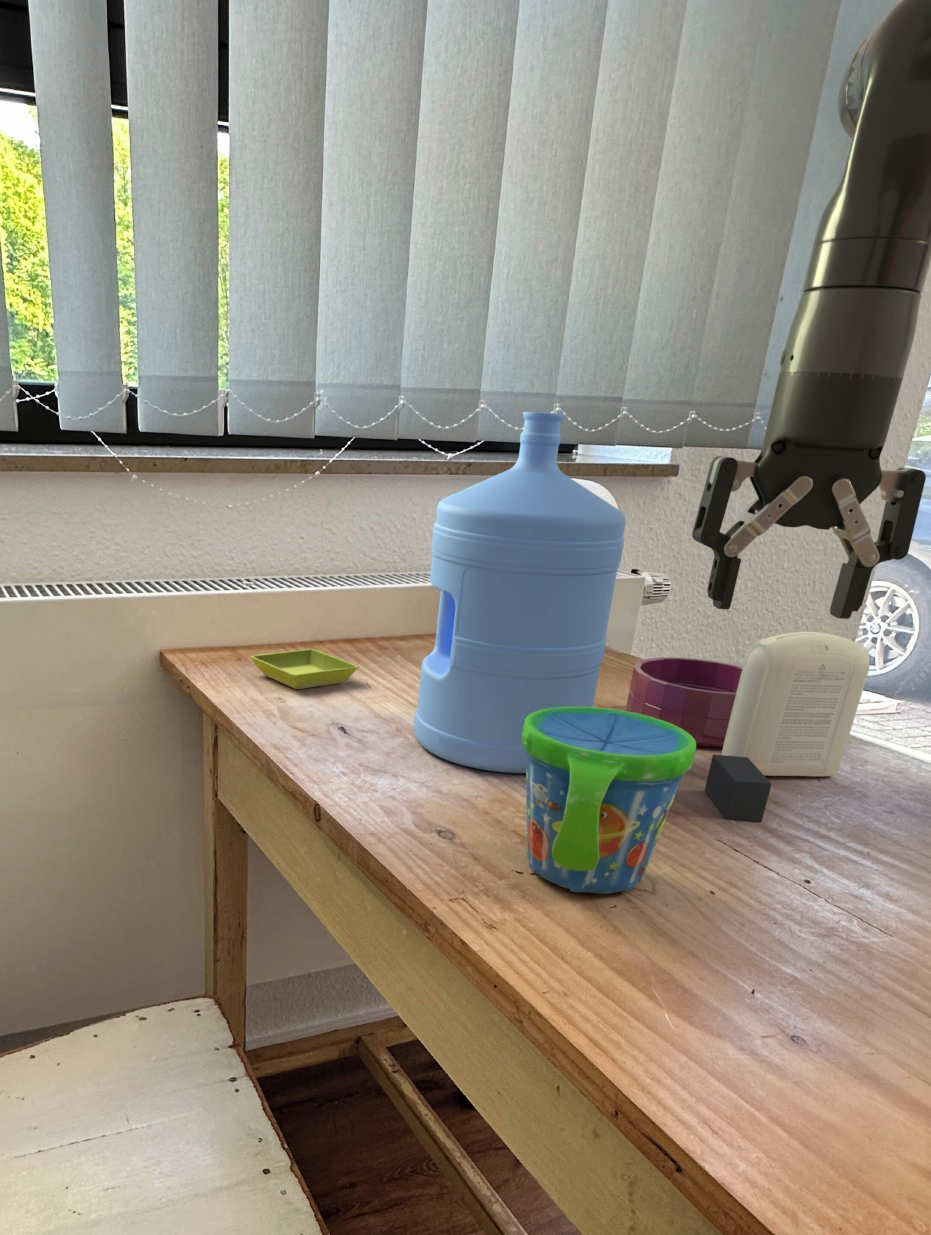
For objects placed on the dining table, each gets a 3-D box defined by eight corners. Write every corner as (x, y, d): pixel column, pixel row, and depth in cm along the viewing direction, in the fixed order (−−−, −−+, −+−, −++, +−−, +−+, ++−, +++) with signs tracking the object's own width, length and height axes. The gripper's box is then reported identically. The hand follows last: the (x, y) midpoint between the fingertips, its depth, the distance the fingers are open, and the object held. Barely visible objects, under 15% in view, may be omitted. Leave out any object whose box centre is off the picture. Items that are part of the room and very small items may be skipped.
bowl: (741, 714, 100) (753, 662, 98) (783, 756, 88) (798, 699, 86) (614, 704, 101) (623, 653, 99) (638, 744, 89) (650, 687, 87)
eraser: (704, 790, 79) (712, 754, 78) (738, 793, 79) (747, 757, 78) (724, 818, 74) (734, 780, 73) (761, 822, 74) (772, 783, 72)
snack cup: (541, 816, 73) (562, 686, 68) (685, 851, 68) (717, 715, 64) (466, 896, 60) (486, 743, 56) (635, 946, 55) (670, 784, 51)
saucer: (312, 665, 110) (313, 647, 109) (359, 684, 103) (360, 666, 102) (248, 674, 105) (248, 655, 104) (293, 694, 98) (293, 675, 98)
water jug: (609, 743, 89) (670, 419, 78) (546, 792, 77) (607, 417, 66) (459, 708, 97) (494, 409, 85) (381, 747, 85) (410, 405, 73)
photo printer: (815, 762, 87) (853, 628, 82) (845, 779, 83) (886, 640, 78) (711, 762, 86) (743, 626, 81) (736, 780, 82) (772, 637, 77)
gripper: (749, 362, 61) (694, 615, 68) (981, 374, 60) (902, 631, 66) (716, 366, 68) (669, 595, 74) (925, 378, 67) (858, 609, 73)
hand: (779, 612), depth 70 cm, fingers open, 8 cm apart
